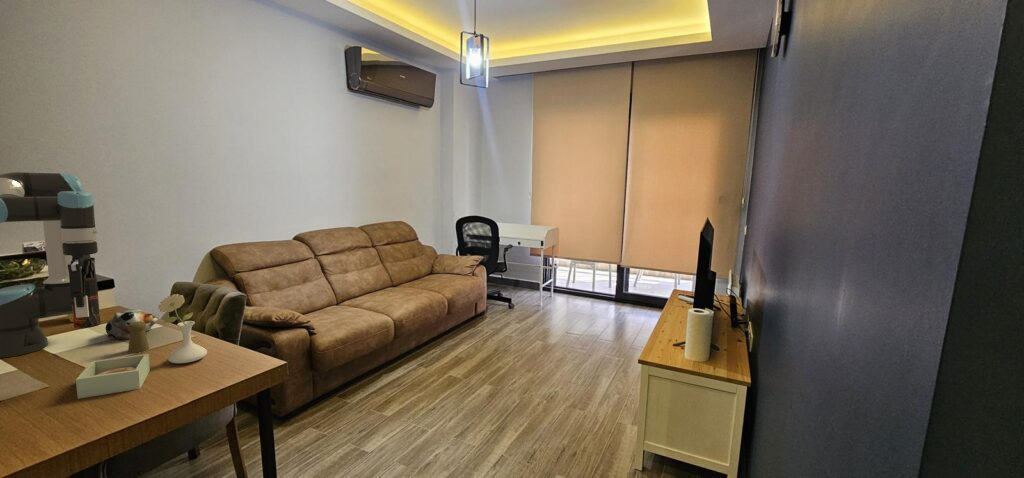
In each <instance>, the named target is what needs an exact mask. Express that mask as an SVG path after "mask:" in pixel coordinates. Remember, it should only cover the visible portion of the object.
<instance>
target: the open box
mask: <svg viewBox="0 0 1024 478" xmlns="http://www.w3.org/2000/svg"><path fill="white" fill-rule="evenodd" d="M150 366H151V365H150V354H149V353H143V354H136V355H130V356H121V357H120V356H119V357H113V358H105V359H97V360H92V361H91V362H90V363H89V364H88V365H87V366H86V367H85V369H84V370H83V371H82V372H81V373H80V374H79V376H78V377H77V378H76V379H75V383H76V384H75V385H76V393H77V399H78V400H79V399H84V398H92V397H96V396H103V395H108V394H110V395H111V394H115V393H121V392H128V391H134V390H140V389H141V388H142V386H143V384H144V382H145V380H146V379H147V377H148V374H149V373H150V371H151V369H150Z"/></svg>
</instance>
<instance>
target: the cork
mask: <svg viewBox="0 0 1024 478" xmlns="http://www.w3.org/2000/svg"><path fill="white" fill-rule="evenodd" d="M145 329H146V323H145V322H142V321H138V322H133V323H130V324H129V325H128V331H129V332H130V338H129V339H128V340H129V342H128V347H127V348H128V351H127V353H128V352H129V353H128V354H131V353H135V354H140V353H139V352H141V353H145V352H147V351H149V350H150V346H149V342H148V338H147V334H146V332H145ZM148 349H149V350H148ZM144 351H145V352H144Z"/></svg>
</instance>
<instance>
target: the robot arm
mask: <svg viewBox="0 0 1024 478" xmlns="http://www.w3.org/2000/svg"><path fill="white" fill-rule="evenodd" d="M95 218H96V217H95V201H94V197H93V194H92V192H91V191H84V189H83V186H82V182H81V180H80V179H79V177H78V176H76V175H75V174H70V173H57V172H54V173H51V172H22V171H16V172H15V171H13V172H5V173H2V174H0V223H15V222H16V223H17V222H20V223H21V222H42V227H43V235H44V244H45V245H44V246H45V252H46V263H47V273H48V277H47V278H46V279H45V280H44V281H43V286H41V287H36V285H35V284H31V283H26V284H17V285H12V286H6V287H2V288H0V358H1V359H3V358H10V357H11V358H12V357H17V356H23V355H26V354H31V353H34V352H37V351H40V350H42V349H45V348H47V347H48V346H49V340H48V337H47V335H46V334H45V333H44V331H43V330H42V328H41V327H40V322H39V320H41V319H47V318H48V319H49V318H52V317H60V316H68V315H67V314H73V310H72V300H71V298H72V297H74V301H75V312H76V318H79V317H88V316H89V310H88V299H87V296H85V295H86V278H91V277H95V278H97V274H96V265H95V264H96V258H95V257H94V256H93V257H91V255H93V254H96V253H98V251H99V249H98V242H97V241H95V240H97V234H98V233H99V231H98V230H96V220H95ZM97 288H98V289H99V287H98V286H97Z"/></svg>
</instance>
